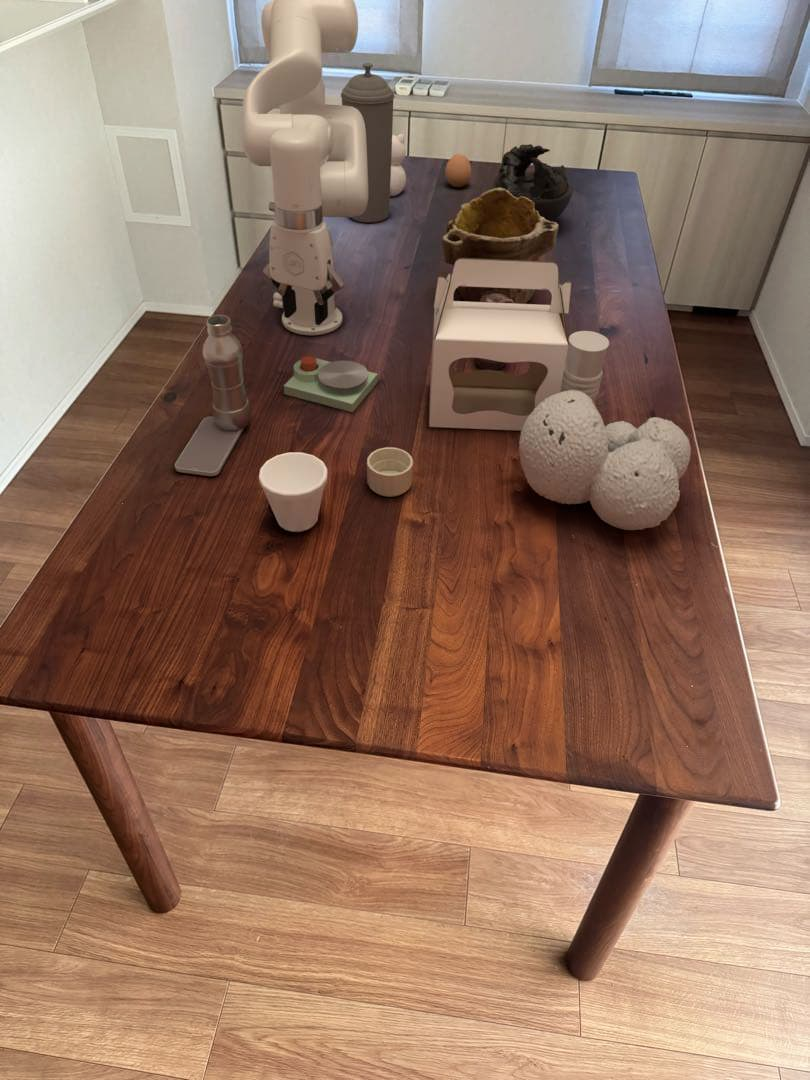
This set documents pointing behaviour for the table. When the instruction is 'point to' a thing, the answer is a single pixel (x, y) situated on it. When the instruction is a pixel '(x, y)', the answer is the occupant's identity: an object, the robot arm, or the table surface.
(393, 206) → the table surface
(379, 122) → the canister
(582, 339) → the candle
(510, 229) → the ceramic vessel
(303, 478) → the cup
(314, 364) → the button
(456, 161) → the egg
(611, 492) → the grey lumpy cluster
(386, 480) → the bowl
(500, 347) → the cardboard gift box
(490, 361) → the can
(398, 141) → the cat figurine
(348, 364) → the scale plate
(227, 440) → the smartphone
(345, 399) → the scale
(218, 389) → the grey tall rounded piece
